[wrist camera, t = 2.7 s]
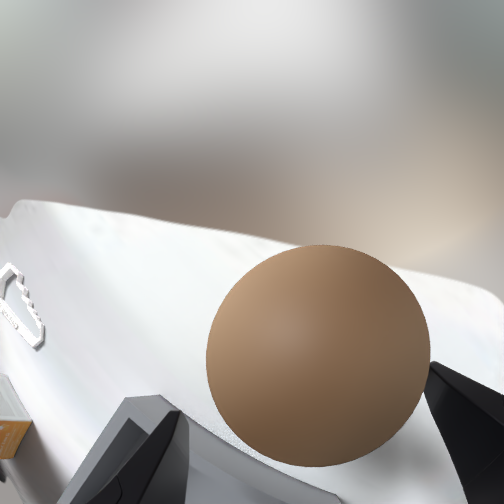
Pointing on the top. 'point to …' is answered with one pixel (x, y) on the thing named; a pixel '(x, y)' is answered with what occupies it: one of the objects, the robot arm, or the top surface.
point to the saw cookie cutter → (3, 276)
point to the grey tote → (200, 463)
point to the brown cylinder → (318, 356)
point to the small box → (11, 419)
